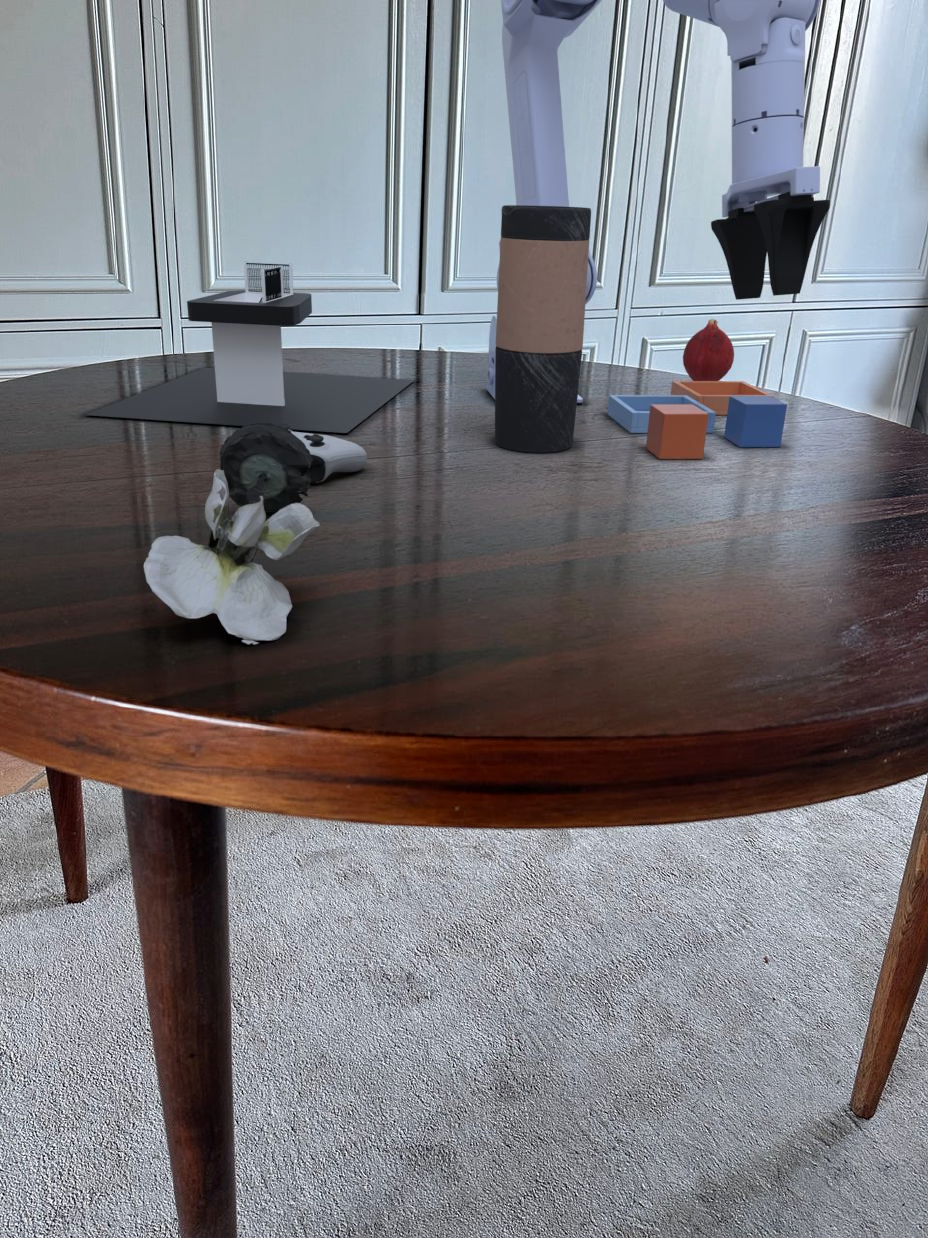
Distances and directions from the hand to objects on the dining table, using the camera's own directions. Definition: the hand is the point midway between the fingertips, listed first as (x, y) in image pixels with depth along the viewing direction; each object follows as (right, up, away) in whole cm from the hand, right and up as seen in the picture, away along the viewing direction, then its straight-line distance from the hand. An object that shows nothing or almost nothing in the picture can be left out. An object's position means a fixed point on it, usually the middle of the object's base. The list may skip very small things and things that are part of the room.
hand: (766, 296), depth 85 cm
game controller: (-39, -16, -6) cm, 43 cm away
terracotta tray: (+2, -4, +23) cm, 24 cm away
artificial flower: (-39, -25, -25) cm, 53 cm away
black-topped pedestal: (-47, -4, +21) cm, 52 cm away
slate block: (+1, -11, +8) cm, 14 cm away
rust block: (-7, -13, +3) cm, 15 cm away
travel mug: (-20, -12, +5) cm, 24 cm away
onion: (+2, -1, +32) cm, 33 cm away
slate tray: (-6, -8, +15) cm, 18 cm away
